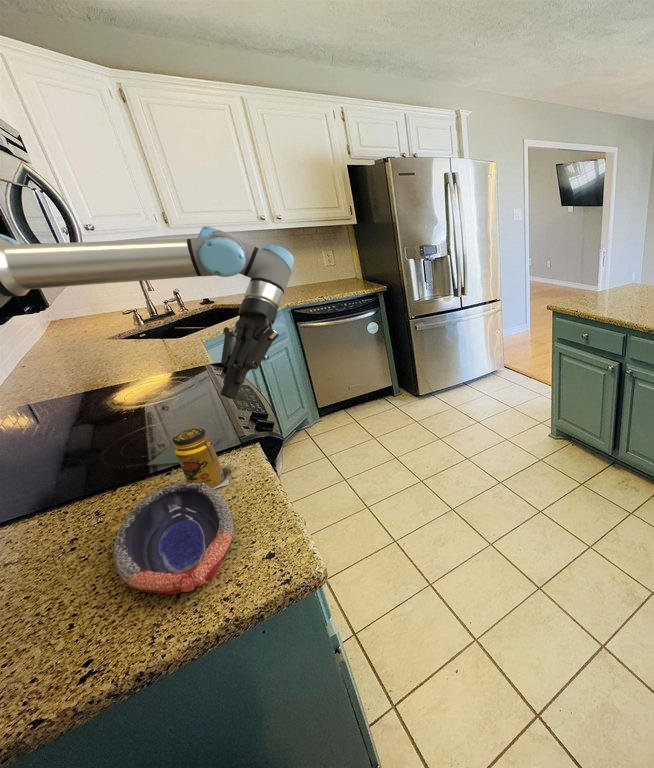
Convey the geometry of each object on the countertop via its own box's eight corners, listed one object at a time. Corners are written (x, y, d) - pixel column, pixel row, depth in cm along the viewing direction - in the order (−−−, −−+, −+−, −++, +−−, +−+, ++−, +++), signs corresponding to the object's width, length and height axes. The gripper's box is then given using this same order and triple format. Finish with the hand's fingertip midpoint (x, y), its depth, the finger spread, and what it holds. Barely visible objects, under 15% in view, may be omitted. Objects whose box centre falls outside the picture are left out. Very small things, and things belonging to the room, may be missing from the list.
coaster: (147, 466, 91) (147, 464, 91) (176, 442, 101) (175, 441, 100) (194, 462, 92) (194, 461, 92) (219, 439, 101) (218, 438, 101)
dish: (222, 485, 84) (214, 465, 82) (254, 578, 63) (245, 554, 61) (123, 521, 75) (112, 499, 73) (121, 644, 54) (105, 618, 52)
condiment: (185, 497, 81) (163, 446, 76) (190, 476, 88) (170, 427, 83) (228, 485, 84) (210, 435, 80) (230, 465, 91) (213, 418, 86)
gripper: (295, 313, 100) (266, 403, 92) (248, 312, 102) (215, 400, 94) (275, 296, 93) (241, 392, 85) (225, 295, 95) (187, 389, 87)
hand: (228, 396), depth 90 cm, fingers closed
